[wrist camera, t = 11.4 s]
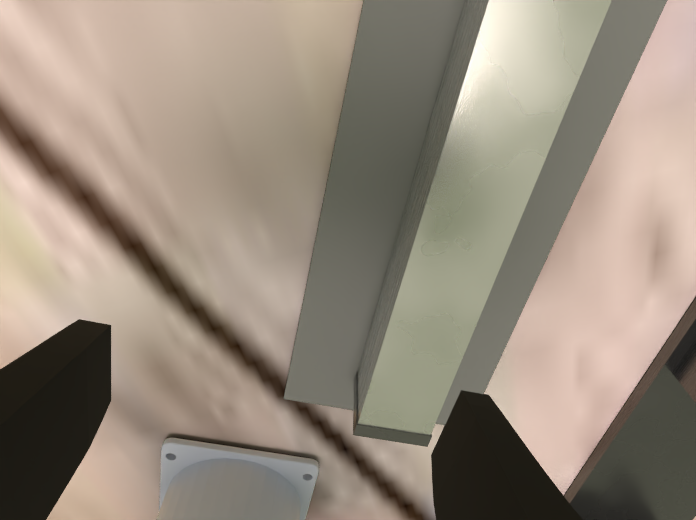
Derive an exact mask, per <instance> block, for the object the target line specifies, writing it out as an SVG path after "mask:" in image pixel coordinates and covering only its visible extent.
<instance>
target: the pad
mask: <svg viewBox="0 0 696 520" xmlns="http://www.w3.org/2000/svg"><path fill="white" fill-rule="evenodd" d="M464 2H465V0H364V1H363V6H362V11H361V16H360V21H359V26H358V31H357V36H356V41H355V46H354V51H353V56H352V61H351V66H350V71H349V76H348V81H347V86H346V91H345V96H344V101H343V106H342V111H341V116H340V121H339V126H338V131H337V136H336V141H335V145H334V150H333V155H332V160H331V165H330V170H329V175H328V180H327V185H326V190H325V195H324V200H323V205H322V210H321V215H320V220H319V225H318V230H317V235H316V240H315V245H314V250H313V255H312V260H311V265H310V270H309V275H308V280H307V285H306V290H305V294H304V299H303V304H302V309H301V314H300V319H299V324H298V329H297V334H296V339H295V344H294V349H293V354H292V359H291V364H290V369H289V374H288V379H287V384H286V389H285V394H284V399H287V400H293V401H299V402H306V403H312V404H318V405H324V406H330V407H336V408H342V409H349V410H354V378H355V375H356V371H357V372H358V369H359V365H360V362H361V359H362V355H363V352H364V348H365V345H366V341H367V338H368V334H369V331H370V327H371V324H372V320H373V317H374V314H375V310H376V307H377V303H378V300H379V296H380V293H381V289H382V286H383V282H384V279H385V275H386V272H387V268H388V265H389V262H390V258H391V255H392V251H393V248H394V244H395V241H396V237H397V234H398V230H399V227H400V223H401V220H402V216H403V213H404V210H405V206H406V203H407V199H408V196H409V192H410V189H411V185H412V182H413V178H414V175H415V171H416V168H417V164H418V161H419V158H420V154H421V151H422V147H423V144H424V140H425V137H426V133H427V130H428V126H429V123H430V119H431V116H432V113H433V109H434V106H435V102H436V99H437V95H438V92H439V88H440V85H441V81H442V78H443V74H444V71H445V67H446V64H447V61H448V57H449V54H450V50H451V47H452V43H453V40H454V36H455V33H456V29H457V26H458V22H459V19H460V15H461V12H462V9H463V5H464ZM666 2H667V0H612V1H611V3H610V6H609V8H608V11H607V13H606V15H605V18H604V20H603V23H602V25H601V27H600V30H599V32H598V35H597V37H596V39H595V42H594V44H593V47H592V49H591V51H590V54H589V56H588V59H587V61H586V63H585V66H584V68H583V71H582V73H581V75H580V78H579V80H578V83H577V85H576V87H575V90H574V92H573V95H572V97H571V99H570V102H569V104H568V107H567V109H566V111H565V114H564V116H563V119H562V121H561V123H560V126H559V128H558V131H557V133H556V135H555V138H554V140H553V143H552V145H551V147H550V150H549V152H548V155H547V157H546V159H545V162H544V164H543V167H542V169H541V171H540V174H539V176H538V179H537V181H536V183H535V186H534V188H533V190H532V193H531V195H530V198H529V200H528V202H527V205H526V207H525V210H524V212H523V214H522V217H521V219H520V222H519V224H518V226H517V229H516V231H515V234H514V236H513V238H512V241H511V243H510V246H509V248H508V250H507V253H506V255H505V258H504V260H503V262H502V265H501V267H500V270H499V272H498V274H497V277H496V279H495V282H494V284H493V286H492V289H491V291H490V294H489V296H488V298H487V301H486V303H485V306H484V308H483V310H482V313H481V315H480V318H479V320H478V322H477V325H476V327H475V330H474V332H473V334H472V337H471V339H470V342H469V344H468V346H467V349H466V351H465V354H464V356H463V358H462V361H461V363H460V366H459V368H458V370H457V373H456V375H455V378H454V380H453V382H452V385H451V387H450V389H449V392H448V394H447V397H446V399H445V401H444V404H443V406H442V409H441V411H440V413H439V416H438V418H437V421H436V423H435V424H441V425H445V424H446V422H447V420H448V418H449V415H450V413H451V411H452V409H453V407H454V405H455V402H456V400H457V398H458V396H459V394H460V391H461V390H464V391H469V392H475V393H480V394H484V392H485V390H486V388H487V385H488V383H489V381H490V379H491V377H492V375H493V373H494V370H495V368H496V366H497V364H498V362H499V360H500V358H501V355H502V353H503V351H504V349H505V347H506V345H507V343H508V340H509V338H510V336H511V334H512V332H513V330H514V328H515V325H516V323H517V321H518V319H519V317H520V315H521V313H522V310H523V308H524V306H525V304H526V302H527V300H528V298H529V295H530V293H531V291H532V289H533V287H534V285H535V283H536V280H537V278H538V276H539V274H540V272H541V270H542V268H543V265H544V263H545V261H546V259H547V257H548V255H549V253H550V250H551V248H552V246H553V244H554V242H555V240H556V238H557V236H558V233H559V231H560V229H561V227H562V225H563V223H564V221H565V218H566V216H567V214H568V212H569V210H570V208H571V206H572V203H573V201H574V199H575V197H576V195H577V193H578V191H579V188H580V186H581V184H582V182H583V180H584V178H585V176H586V173H587V171H588V169H589V167H590V165H591V163H592V161H593V158H594V156H595V154H596V152H597V150H598V148H599V146H600V143H601V141H602V139H603V137H604V135H605V133H606V131H607V128H608V126H609V124H610V122H611V120H612V118H613V116H614V113H615V111H616V109H617V107H618V105H619V103H620V101H621V98H622V96H623V94H624V92H625V90H626V88H627V86H628V83H629V81H630V79H631V77H632V75H633V73H634V71H635V68H636V66H637V64H638V62H639V60H640V58H641V56H642V53H643V51H644V49H645V47H646V45H647V43H648V41H649V38H650V36H651V34H652V32H653V30H654V28H655V26H656V23H657V21H658V19H659V17H660V15H661V13H662V11H663V8H664V6H665V4H666Z"/></svg>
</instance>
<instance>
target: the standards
mask: <svg viewBox="0 0 696 520" xmlns="http://www.w3.org/2000/svg"><path fill="white" fill-rule="evenodd" d="M564 497H565V498H566V500H567V501H568V502H569V503H570V505H571V506H572V507H573V508H574V510H575V511H576V512H577V513H578V514H579V516H580V517H581V518H582V519H583V520H692V519H693V518H694V517H695V516H696V298H695V300H694V301H693V303H692V304H691V306H690V307H689V309H688V310H687V312H686V313H685V315H684V316H683V318H682V319H681V321H680V322H679V324H678V325H677V327H676V328H675V330H674V331H673V333H672V334H671V336H670V337H669V339H668V340H667V342H666V343H665V345H664V346H663V348H662V349H661V351H660V352H659V354H658V355H657V357H656V358H655V360H654V361H653V363H652V364H651V366H650V367H649V369H648V370H647V372H646V373H645V375H644V376H643V378H642V379H641V381H640V382H639V384H638V385H637V387H636V388H635V390H634V391H633V393H632V394H631V396H630V397H629V399H628V400H627V402H626V403H625V405H624V406H623V408H622V410H621V411H620V413H619V414H618V416H617V417H616V419H615V420H614V422H613V423H612V425H611V426H610V428H609V429H608V431H607V432H606V434H605V435H604V437H603V438H602V440H601V441H600V443H599V444H598V446H597V447H596V449H595V450H594V452H593V453H592V455H591V456H590V458H589V459H588V461H587V462H586V464H585V465H584V467H583V468H582V470H581V471H580V473H579V474H578V476H577V477H576V479H575V480H574V482H573V483H572V485H571V486H570V488H569V489H568V491H567V492H566V494H565V495H564Z"/></svg>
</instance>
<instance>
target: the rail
mask: <svg viewBox="0 0 696 520" xmlns="http://www.w3.org/2000/svg"><path fill="white" fill-rule="evenodd" d="M611 1H612V0H465V2H464V5H463V9H462V12H461V15H460V19H459V22H458V26H457V29H456V33H455V36H454V40H453V43H452V47H451V50H450V54H449V57H448V61H447V64H446V67H445V71H444V74H443V78H442V81H441V85H440V88H439V92H438V95H437V99H436V102H435V106H434V109H433V113H432V116H431V119H430V123H429V126H428V130H427V133H426V137H425V140H424V144H423V147H422V151H421V154H420V158H419V161H418V164H417V168H416V171H415V175H414V178H413V182H412V185H411V189H410V192H409V196H408V199H407V203H406V206H405V210H404V213H403V216H402V220H401V223H400V227H399V230H398V234H397V237H396V241H395V244H394V248H393V251H392V255H391V258H390V262H389V265H388V268H387V272H386V275H385V279H384V282H383V286H382V289H381V293H380V296H379V300H378V303H377V307H376V310H375V314H374V317H373V320H372V324H371V327H370V331H369V334H368V338H367V341H366V345H365V348H364V352H363V355H362V359H361V362H360V365H359V369H358V372H357V371H356V375H355V378H354V411H353V435H356V436H363V437H369V438H375V439H382V440H388V441H395V442H401V443H407V444H414V445H420V446H426V447H428V444H429V442H430V439H431V437H432V436H431V433H432V430H433V428H434V425H435V423H436V421H437V418H438V416H439V413H440V411H441V409H442V406H443V404H444V401H445V399H446V397H447V394H448V392H449V389H450V387H451V385H452V382H453V380H454V378H455V375H456V373H457V370H458V368H459V366H460V363H461V361H462V358H463V356H464V354H465V351H466V349H467V346H468V344H469V342H470V339H471V337H472V334H473V332H474V330H475V327H476V325H477V322H478V320H479V318H480V315H481V313H482V310H483V308H484V306H485V303H486V301H487V298H488V296H489V294H490V291H491V289H492V286H493V284H494V282H495V279H496V277H497V274H498V272H499V270H500V267H501V265H502V262H503V260H504V258H505V255H506V253H507V250H508V248H509V246H510V243H511V241H512V238H513V236H514V234H515V231H516V229H517V226H518V224H519V222H520V219H521V217H522V214H523V212H524V210H525V207H526V205H527V202H528V200H529V198H530V195H531V193H532V190H533V188H534V186H535V183H536V181H537V179H538V176H539V174H540V171H541V169H542V167H543V164H544V162H545V159H546V157H547V155H548V152H549V150H550V147H551V145H552V143H553V140H554V138H555V135H556V133H557V131H558V128H559V126H560V123H561V121H562V119H563V116H564V114H565V111H566V109H567V107H568V104H569V102H570V99H571V97H572V95H573V92H574V90H575V87H576V85H577V83H578V80H579V78H580V75H581V73H582V71H583V68H584V66H585V63H586V61H587V59H588V56H589V54H590V51H591V49H592V47H593V44H594V42H595V39H596V37H597V35H598V32H599V30H600V27H601V25H602V23H603V20H604V18H605V15H606V13H607V11H608V8H609V6H610V3H611Z"/></svg>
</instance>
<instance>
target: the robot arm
mask: <svg viewBox="0 0 696 520" xmlns="http://www.w3.org/2000/svg"><path fill="white" fill-rule="evenodd" d="M110 402H111V325H107V324H102V323H96V322H91V321H85V320H80V319H79V320H77V321H76V322H74V323H72V324H71V325H69V326H68V327H66V328H64V329H63V330H61V331H60V332H58V333H57V334H55V335H53V336H52V337H50V338H49V339H47V340H46V341H44V342H43V343H41V344H39V345H38V346H36V347H35V348H33V349H32V350H30V351H29V352H27V353H25V354H24V355H22V356H21V357H19V358H18V359H16V360H15V361H13V362H11V363H10V364H8V365H7V366H5V367H3V368H2V369H0V520H46V519H47V517H48V516H49V514H50V512H51V511H52V509H53V507H54V506H55V504H56V503H57V501H58V499H59V498H60V496H61V494H62V493H63V491H64V489H65V488H66V486H67V485H68V483H69V481H70V480H71V478H72V476H73V475H74V473H75V471H76V470H77V468H78V466H79V465H80V463H81V461H82V460H83V458H84V456H85V455H86V453H87V451H88V449H89V448H90V446H91V443H92V441H93V439H94V437H95V435H96V433H97V431H98V429H99V426H100V424H101V422H102V420H103V417H104V415H105V413H106V411H107V408H108V406H109V404H110ZM431 458H432V483H433V499H434V508H435V514H436V520H583V519H582V518H581V517H580V516H579V514H578V513H577V512H576V511H575V510H574V508H573V507H572V506H571V505H570V503H569V502H568V501H567V500H566V498H565V497H564V496H563V495H562V493H561V492H560V491H559V489H558V488H557V487H556V486H555V484H554V483H553V482H552V480H551V479H550V478H549V476H548V475H547V474H546V472H545V471H544V470H543V468H542V467H541V466H540V464H539V463H538V462H537V460H536V459H535V458H534V456H533V455H532V454H531V452H530V451H529V450H528V448H527V447H526V445H525V444H524V443H523V441H522V440H521V438H520V437H519V436H518V434H517V433H516V432H515V430H514V429H513V427H512V426H511V425H510V423H509V422H508V420H507V419H506V418H505V416H504V415H503V413H502V412H501V411H500V409H499V408H498V407H497V405H496V404H495V403H494V401H493V400H492V399H491V397H490V396H489V395H485V394H480V393H475V392H469V391H464V390H461V391H460V394H459V396H458V398H457V400H456V402H455V405H454V407H453V409H452V411H451V413H450V415H449V418H448V420H447V422H446V424H445V426H444V429H443V431H442V433H441V435H440V437H439V439H438V442H437V444H436V446H435V448H434V450H433V453H432V455H431ZM318 473H319V463H318V462H317V461H316V460H314V459H310V458H304V457H297V456H290V455H284V454H277V453H271V452H264V451H258V450H251V449H245V448H238V447H232V446H225V445H218V444H212V443H205V442H199V441H192V440H186V439H179V438H167V439H166V440H164V442H163V445H162V448H161V471H160V496H159V513H158V516H157V519H156V520H306V516H307V513H308V509H309V505H310V502H311V498H312V494H313V491H314V487H315V483H316V480H317V476H318Z"/></svg>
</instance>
